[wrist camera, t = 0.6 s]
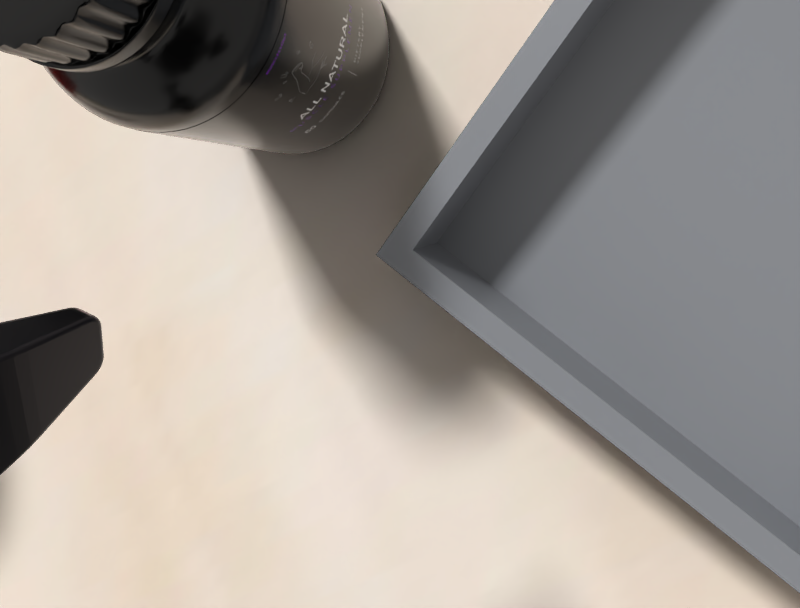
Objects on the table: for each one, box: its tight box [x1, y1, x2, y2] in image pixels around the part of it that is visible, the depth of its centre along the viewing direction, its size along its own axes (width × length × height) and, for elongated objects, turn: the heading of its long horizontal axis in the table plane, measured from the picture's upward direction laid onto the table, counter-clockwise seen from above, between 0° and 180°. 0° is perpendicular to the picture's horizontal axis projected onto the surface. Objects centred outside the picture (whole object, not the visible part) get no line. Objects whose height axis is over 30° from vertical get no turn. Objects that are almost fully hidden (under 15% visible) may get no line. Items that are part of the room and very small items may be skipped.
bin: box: [376, 0, 800, 593], centre depth 17 cm, size 16×16×4 cm
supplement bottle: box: [0, 0, 389, 154], centre depth 17 cm, size 7×7×12 cm
